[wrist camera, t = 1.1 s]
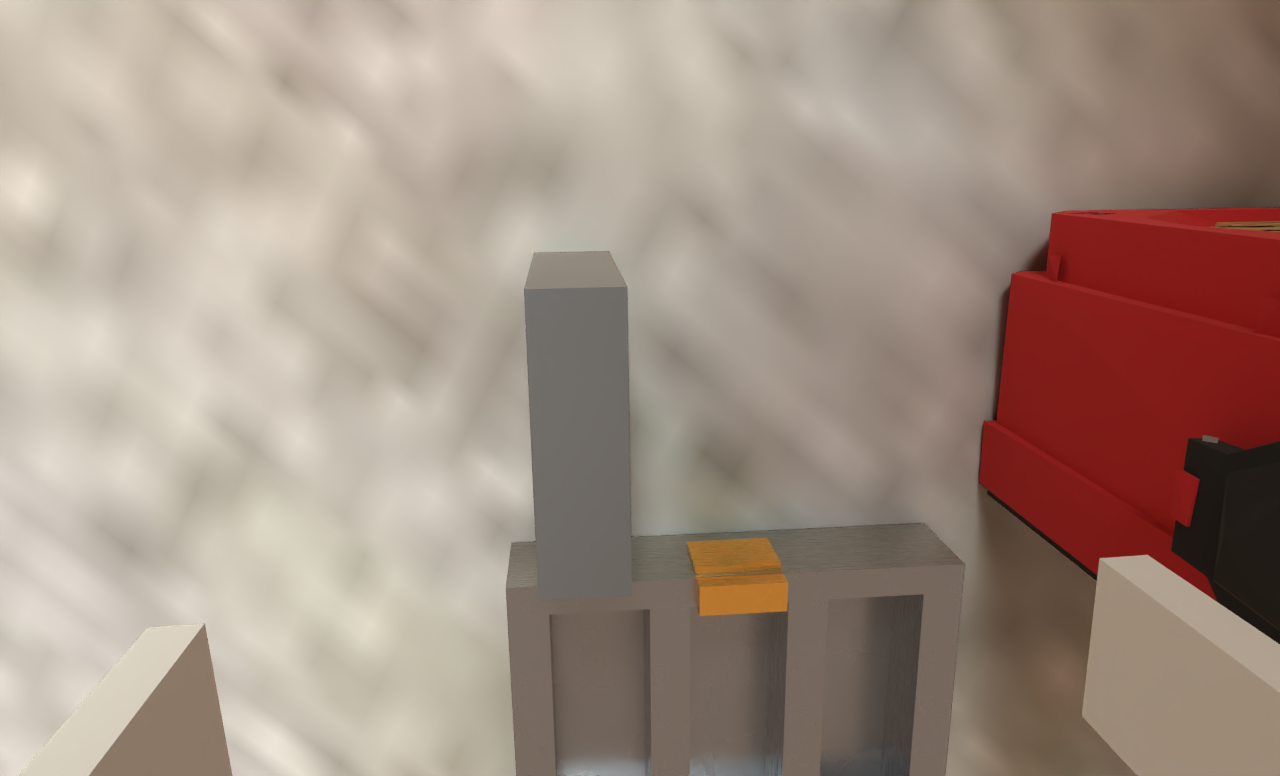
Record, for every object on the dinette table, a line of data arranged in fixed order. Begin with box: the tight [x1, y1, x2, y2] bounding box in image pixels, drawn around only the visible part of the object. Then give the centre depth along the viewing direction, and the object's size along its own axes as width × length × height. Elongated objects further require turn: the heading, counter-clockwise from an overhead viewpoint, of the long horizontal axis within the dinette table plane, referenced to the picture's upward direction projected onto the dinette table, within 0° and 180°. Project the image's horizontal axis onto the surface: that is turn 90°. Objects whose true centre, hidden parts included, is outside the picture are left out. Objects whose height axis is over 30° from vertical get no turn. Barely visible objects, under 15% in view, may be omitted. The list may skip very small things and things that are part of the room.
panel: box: [524, 251, 632, 601], centre depth 25 cm, size 8×2×8 cm, turn 0°
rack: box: [506, 523, 965, 776], centre depth 31 cm, size 12×15×4 cm
